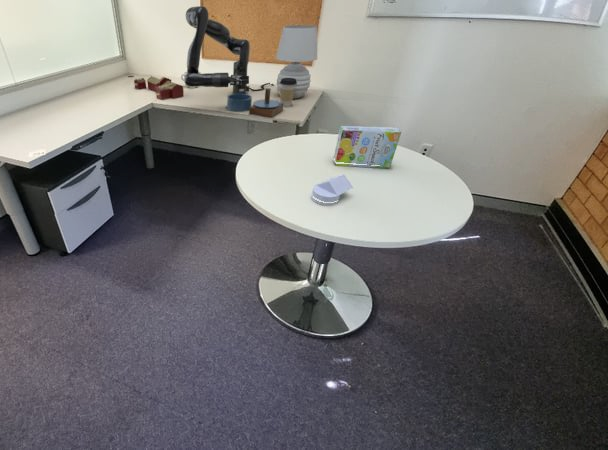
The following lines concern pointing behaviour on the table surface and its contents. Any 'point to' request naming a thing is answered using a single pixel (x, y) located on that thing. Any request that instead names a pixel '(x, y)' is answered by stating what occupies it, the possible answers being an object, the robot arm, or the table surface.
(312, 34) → the table lamp
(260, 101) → the lid
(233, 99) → the bowl
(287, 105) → the coffee cup
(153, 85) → the toy houses
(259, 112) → the board
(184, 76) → the teacup
